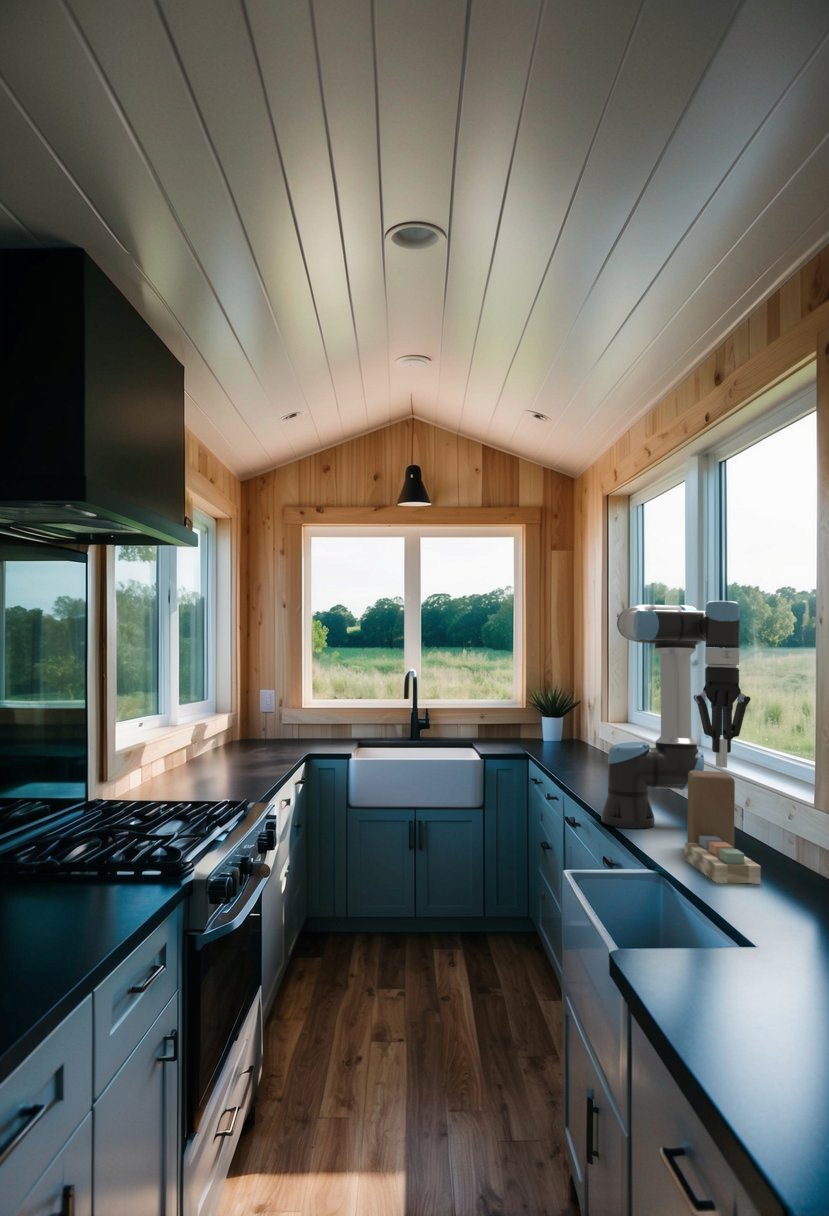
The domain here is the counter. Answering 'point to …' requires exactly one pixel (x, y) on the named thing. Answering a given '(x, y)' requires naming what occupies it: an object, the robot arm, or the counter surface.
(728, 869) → the wooden slotted tray
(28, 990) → the counter surface
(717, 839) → the grey small cube
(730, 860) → the green button
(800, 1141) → the counter surface
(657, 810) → the counter surface
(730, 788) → the block
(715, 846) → the terracotta button
